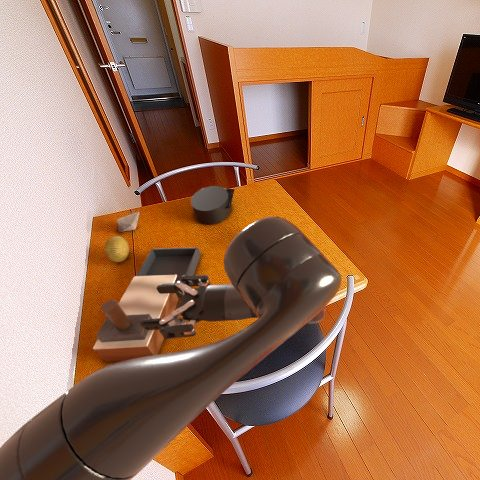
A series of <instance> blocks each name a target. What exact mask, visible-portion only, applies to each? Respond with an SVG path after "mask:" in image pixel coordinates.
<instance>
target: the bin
mask: <svg viewBox="0 0 480 480" xmlns="http://www.w3.org/2000/svg"><path fill="white" fill-rule="evenodd" d="M199 248H200V247H199V246H197V247H193V246H192V247H160V248H158V247H157V248H151V249H150V251H149V252H148V254H147V256H146V257H145V260H144V261H143V263H142V265H141V266H140V268H139V269H138V272H137V274H136V275H135V276H159V275H177V277H176V280H175V282H174V283H176V282H178V281H180V280H181V276H183V275H195V272H196V270H197V267H198V265H199V261H200V259H201V256H202V254H201V250H200V249H199ZM189 287H191V286H189ZM176 295H177V297H178V299H181V297H182V294H181V293H179V292H177V293H176Z"/></svg>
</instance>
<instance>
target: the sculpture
mask: <svg viewBox="0 0 480 480" xmlns="http://www.w3.org/2000/svg"><path fill="white" fill-rule="evenodd" d="M104 253H105V256H106V257H107V259H108V260H109V261H111V262H114V263H121V262H123V261H125V260H126V259H127V258H128V256H129V253H130V247H129V242H128V241H127V240H126V239H125V238H124V237H122V236H119V235H118V236H117V235H116V236H115V235H114V236H112V237H110V238H109V239H108V240H107V241H106V242H105V245H104Z"/></svg>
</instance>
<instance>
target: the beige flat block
mask: <svg viewBox="0 0 480 480" xmlns="http://www.w3.org/2000/svg"><path fill="white" fill-rule="evenodd" d="M176 277H177V275H159V276H136V275H134V276H133V277H132V279H131V281H130V283H129V284H128V286H127V288H126V290H125V292H124V293H123V294H122V297H121V298H120V300H119V302H118V304H119V306H120V307H121V308H122V310H123V311H124V312H125V314H126V315H139V314H150V315H151V317H152V319H153V318H161V319H163V318H165V317H167V316H169V315H170V314H171V312H173V311H174V310H176V309H177V307H178V303H179V300H180V298H178V297H177V295H176V293H168V294H160V293H159V292H158V290H157V286H158V285H161V284H164V283H174V282H175V280H176ZM169 323H170V322H169ZM164 340H165V339H164V338H163V336H162V334H161V333H160V331H159V330H149V331H148V333H147V336H146V338H145V340H130V341H114V342H101V341H100V340H99V339H98V338H97V340H96V342H95V344H94V345H93V347H92V350H93V351H94V352H95V353H96V354H97V355H98V356H99V357H100V358H101V359H102V360H104V362H121V361H125V360H130V359H135V358H140V357H146V356H152V355H159V353H160V350H161V348H162V345H163V343H164Z"/></svg>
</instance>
